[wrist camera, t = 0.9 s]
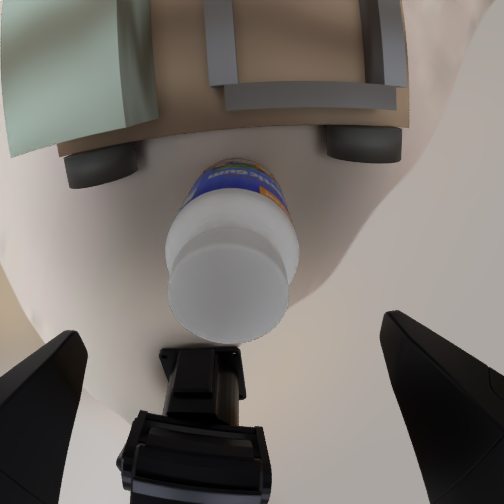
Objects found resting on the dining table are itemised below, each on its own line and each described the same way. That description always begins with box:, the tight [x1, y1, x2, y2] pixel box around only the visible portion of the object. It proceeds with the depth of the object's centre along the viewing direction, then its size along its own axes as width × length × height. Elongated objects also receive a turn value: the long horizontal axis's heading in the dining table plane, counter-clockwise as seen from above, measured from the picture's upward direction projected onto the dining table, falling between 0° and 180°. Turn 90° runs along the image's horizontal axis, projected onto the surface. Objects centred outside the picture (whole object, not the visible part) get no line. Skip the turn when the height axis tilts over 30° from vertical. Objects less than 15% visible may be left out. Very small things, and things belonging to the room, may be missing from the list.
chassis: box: [1, 0, 409, 189], centre depth 11 cm, size 14×20×6 cm
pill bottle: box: [165, 159, 299, 344], centre depth 14 cm, size 5×5×10 cm
